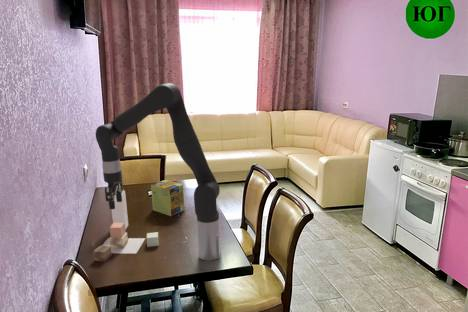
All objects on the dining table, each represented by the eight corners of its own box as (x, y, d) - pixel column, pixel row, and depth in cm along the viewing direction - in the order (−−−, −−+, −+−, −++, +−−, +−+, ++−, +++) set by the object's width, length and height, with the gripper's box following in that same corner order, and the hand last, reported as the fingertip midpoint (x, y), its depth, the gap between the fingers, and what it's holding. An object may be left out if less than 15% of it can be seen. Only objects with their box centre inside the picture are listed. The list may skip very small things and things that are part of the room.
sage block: (158, 241, 171) (157, 232, 169) (158, 246, 166) (158, 236, 165) (147, 243, 170) (146, 233, 168) (147, 248, 165) (146, 238, 164)
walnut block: (111, 257, 158) (110, 246, 157) (105, 263, 153) (104, 252, 152) (101, 255, 159) (100, 245, 158) (94, 261, 155) (93, 251, 153)
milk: (116, 225, 188) (112, 185, 183) (128, 225, 189) (124, 184, 183) (113, 231, 182) (108, 189, 177) (126, 230, 183) (121, 188, 177)
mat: (145, 239, 173) (145, 238, 173) (136, 254, 159) (136, 253, 159) (108, 239, 174) (108, 238, 174) (95, 254, 160) (95, 253, 160)
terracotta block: (125, 232, 168) (124, 222, 166) (121, 238, 163) (120, 227, 162) (114, 232, 168) (113, 222, 167) (110, 237, 163) (109, 227, 162)
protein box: (171, 216, 198) (169, 189, 194) (152, 210, 207) (150, 184, 203) (185, 210, 206) (183, 184, 202) (166, 204, 215) (164, 179, 211)
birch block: (128, 242, 169) (127, 232, 168) (123, 248, 164) (122, 238, 162) (115, 242, 170) (114, 232, 168) (110, 248, 164) (109, 238, 163)
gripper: (114, 174, 151) (118, 211, 155) (126, 165, 164) (129, 199, 168) (96, 175, 151) (101, 211, 155) (109, 165, 165) (113, 199, 169)
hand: (116, 205), depth 162 cm, fingers open, 8 cm apart
